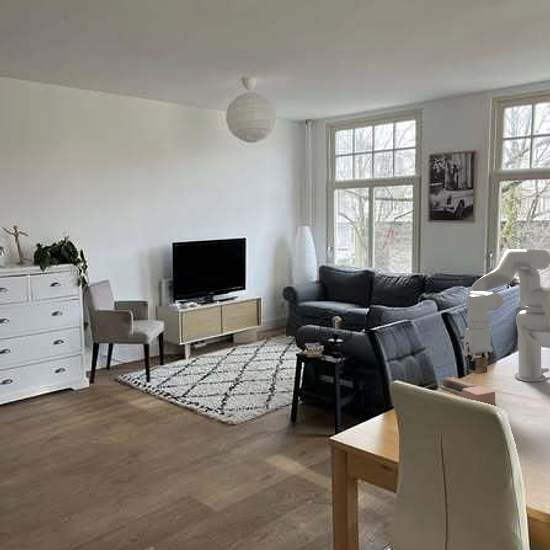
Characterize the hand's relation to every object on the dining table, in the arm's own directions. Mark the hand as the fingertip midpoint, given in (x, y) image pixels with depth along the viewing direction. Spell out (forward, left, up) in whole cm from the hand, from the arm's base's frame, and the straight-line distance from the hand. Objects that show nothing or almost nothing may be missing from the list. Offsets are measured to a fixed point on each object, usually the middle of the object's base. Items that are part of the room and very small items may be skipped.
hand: (477, 368), depth 223 cm
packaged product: (-4, -15, -15) cm, 21 cm away
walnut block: (0, 0, -2) cm, 2 cm away
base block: (0, 0, -14) cm, 14 cm away
